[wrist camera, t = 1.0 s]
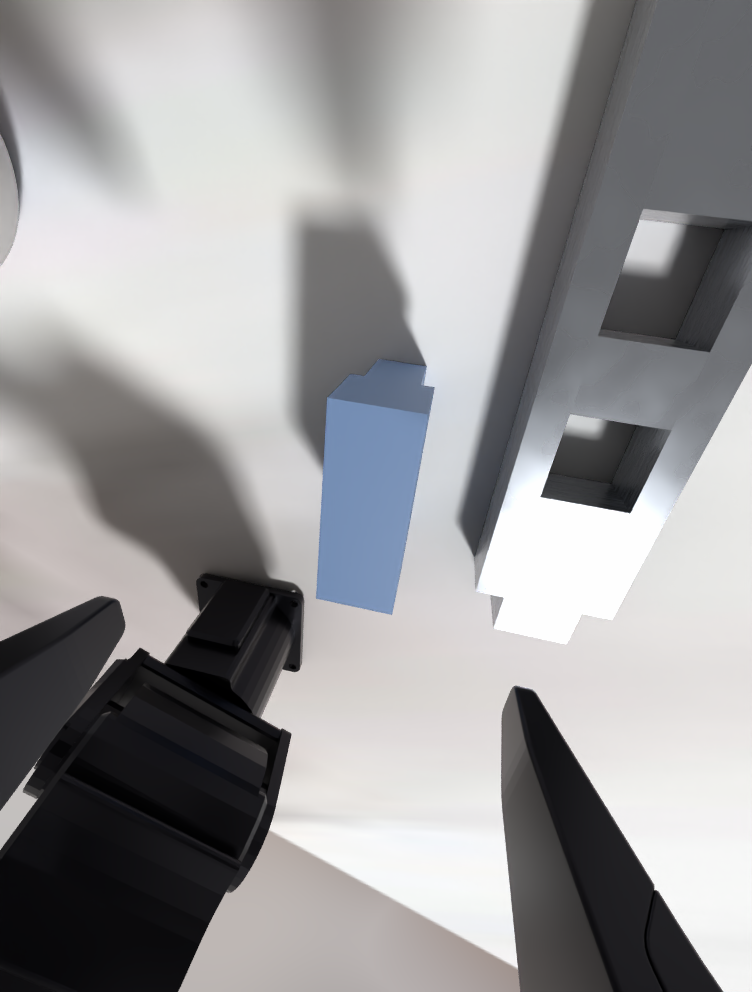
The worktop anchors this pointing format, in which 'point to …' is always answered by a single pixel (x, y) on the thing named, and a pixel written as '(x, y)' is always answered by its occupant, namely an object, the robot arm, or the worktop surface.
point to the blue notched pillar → (370, 482)
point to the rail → (628, 356)
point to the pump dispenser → (7, 203)
